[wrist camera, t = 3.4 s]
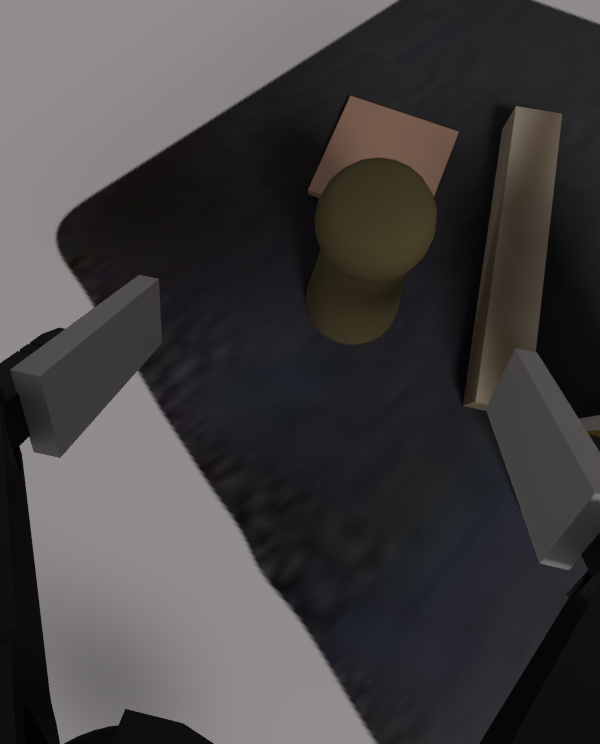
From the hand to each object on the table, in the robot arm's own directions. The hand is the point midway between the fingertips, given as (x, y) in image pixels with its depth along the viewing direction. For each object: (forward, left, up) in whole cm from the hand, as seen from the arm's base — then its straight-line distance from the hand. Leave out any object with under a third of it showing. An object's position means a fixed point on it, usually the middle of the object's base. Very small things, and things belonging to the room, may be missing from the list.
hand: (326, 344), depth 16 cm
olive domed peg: (0, -6, -11) cm, 13 cm away
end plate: (+2, -16, -11) cm, 20 cm away
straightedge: (-8, -13, -11) cm, 18 cm away
